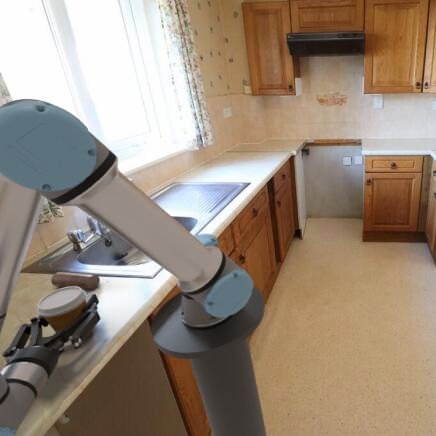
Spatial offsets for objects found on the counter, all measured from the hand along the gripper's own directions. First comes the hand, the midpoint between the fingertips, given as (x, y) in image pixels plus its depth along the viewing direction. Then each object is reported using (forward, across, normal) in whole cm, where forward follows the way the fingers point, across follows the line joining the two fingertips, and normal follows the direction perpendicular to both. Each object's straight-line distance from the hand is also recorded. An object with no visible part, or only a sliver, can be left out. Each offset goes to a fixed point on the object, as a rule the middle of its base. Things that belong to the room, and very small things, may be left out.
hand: (76, 301), depth 83 cm
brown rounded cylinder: (+19, -9, -7) cm, 23 cm away
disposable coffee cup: (-5, 0, -7) cm, 9 cm away
